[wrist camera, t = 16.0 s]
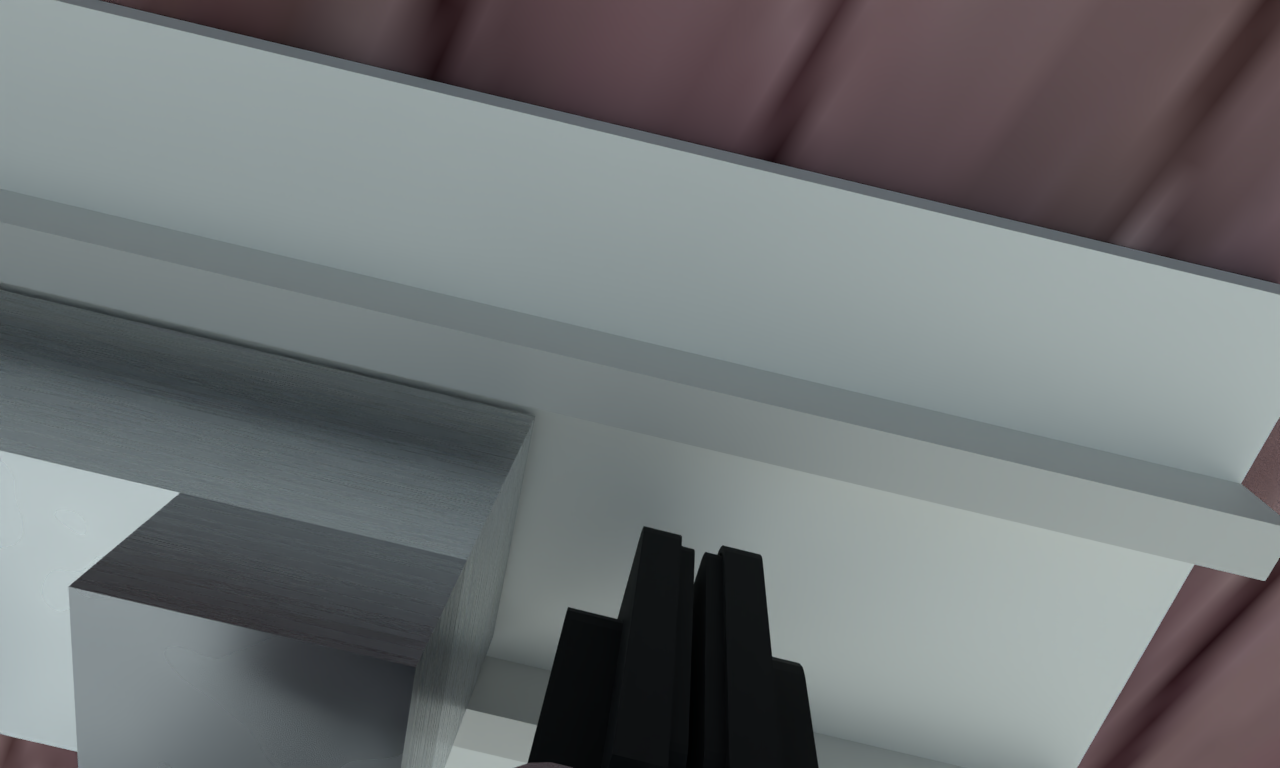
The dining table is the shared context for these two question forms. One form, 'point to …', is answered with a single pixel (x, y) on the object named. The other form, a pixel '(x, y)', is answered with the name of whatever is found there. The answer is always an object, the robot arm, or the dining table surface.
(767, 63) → the dining table surface
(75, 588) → the grey sliding carriage block
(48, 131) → the grey slide rail track
